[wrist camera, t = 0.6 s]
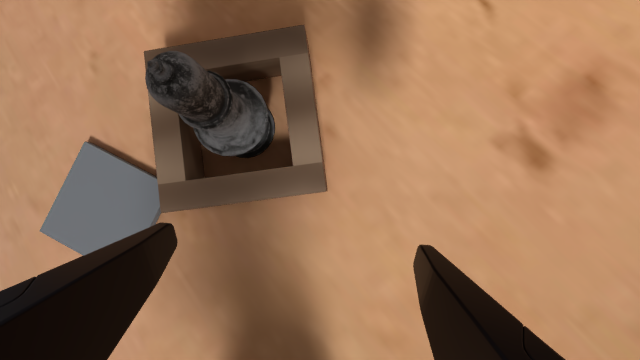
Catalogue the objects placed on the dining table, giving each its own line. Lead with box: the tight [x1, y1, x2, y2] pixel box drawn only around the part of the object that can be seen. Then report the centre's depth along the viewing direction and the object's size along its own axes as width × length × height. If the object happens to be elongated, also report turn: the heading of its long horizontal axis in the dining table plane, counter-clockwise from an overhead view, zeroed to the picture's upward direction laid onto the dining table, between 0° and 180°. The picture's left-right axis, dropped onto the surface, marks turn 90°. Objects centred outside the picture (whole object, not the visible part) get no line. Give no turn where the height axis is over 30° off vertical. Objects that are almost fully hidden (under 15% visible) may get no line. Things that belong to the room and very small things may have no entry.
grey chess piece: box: [145, 51, 275, 158], centre depth 17 cm, size 6×6×12 cm
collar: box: [144, 25, 327, 213], centre depth 21 cm, size 13×13×3 cm
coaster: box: [40, 142, 161, 256], centre depth 23 cm, size 9×9×1 cm
